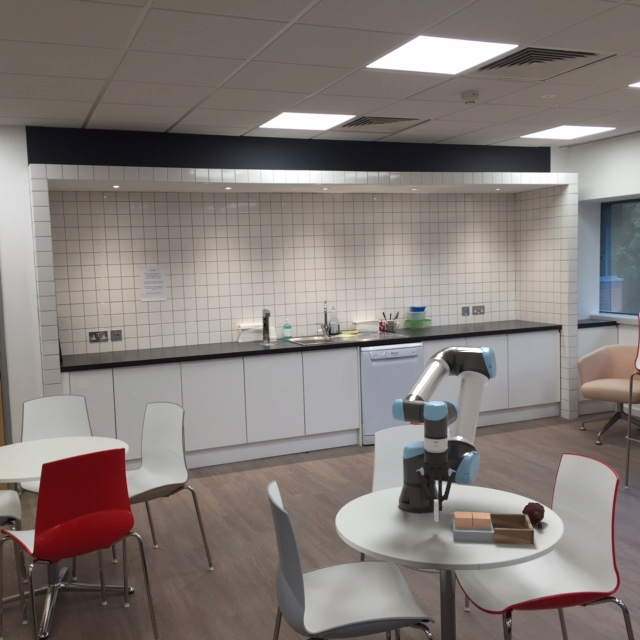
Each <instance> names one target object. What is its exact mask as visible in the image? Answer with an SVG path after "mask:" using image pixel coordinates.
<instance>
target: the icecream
mask: <svg viewBox="0 0 640 640" xmlns="http://www.w3.org/2000/svg"><path fill="white" fill-rule="evenodd" d="M545 510H546V509H545V506H544V505H542V504H541V503H539V502H533V501H531V502H530V501H529V502H528V503H527V504H526V505H525V506H524V508H523V509H522V513H521V514H528V517H529V519H530V522H531V523H532V524H536V526H537V528H538V529H539V530H541V529H543V522H542V521H543V520H544V519H545V512H546V511H545Z"/></svg>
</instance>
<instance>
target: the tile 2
mask: <svg viewBox="0 0 640 640" xmlns="http://www.w3.org/2000/svg"><path fill="white" fill-rule="evenodd" d="M471 513H472V524H473V528H489V529H491V518H490V512H485V511H484V512H480V511H479V512H478V511H472V512H471Z"/></svg>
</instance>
